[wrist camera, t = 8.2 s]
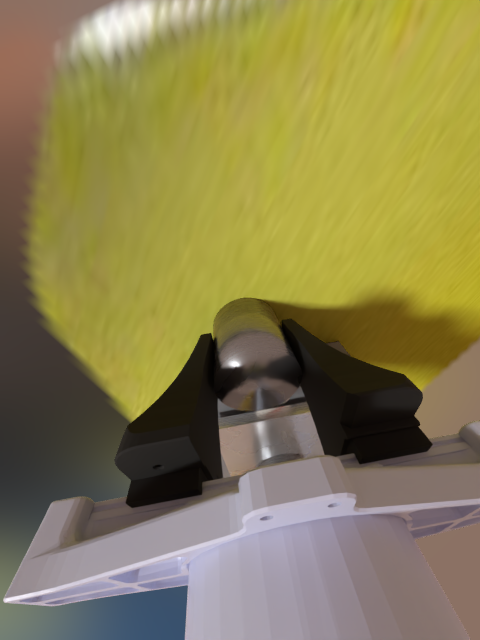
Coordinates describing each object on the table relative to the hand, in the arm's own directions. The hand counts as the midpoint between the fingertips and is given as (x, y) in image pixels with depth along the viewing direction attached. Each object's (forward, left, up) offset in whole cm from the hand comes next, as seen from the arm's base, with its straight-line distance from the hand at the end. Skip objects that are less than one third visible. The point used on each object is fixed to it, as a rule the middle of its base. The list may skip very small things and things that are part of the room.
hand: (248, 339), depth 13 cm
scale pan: (-11, -1, +2) cm, 11 cm away
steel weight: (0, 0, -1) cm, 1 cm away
